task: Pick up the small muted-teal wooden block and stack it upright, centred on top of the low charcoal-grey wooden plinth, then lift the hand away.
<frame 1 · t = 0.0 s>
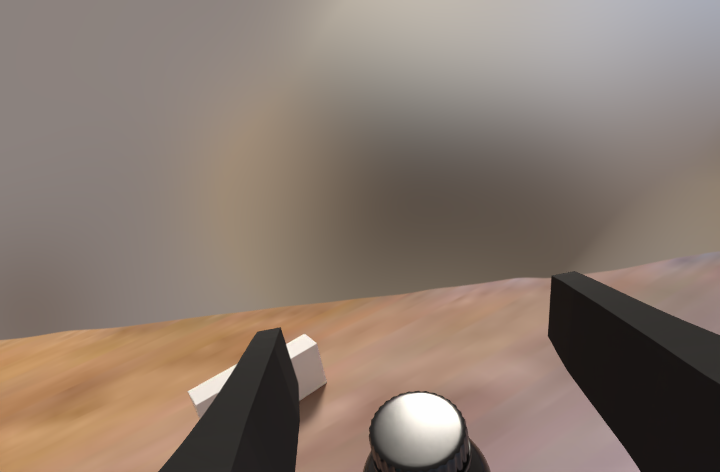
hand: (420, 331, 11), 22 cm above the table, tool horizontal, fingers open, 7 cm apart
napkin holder: (276, 412, 40), on the table
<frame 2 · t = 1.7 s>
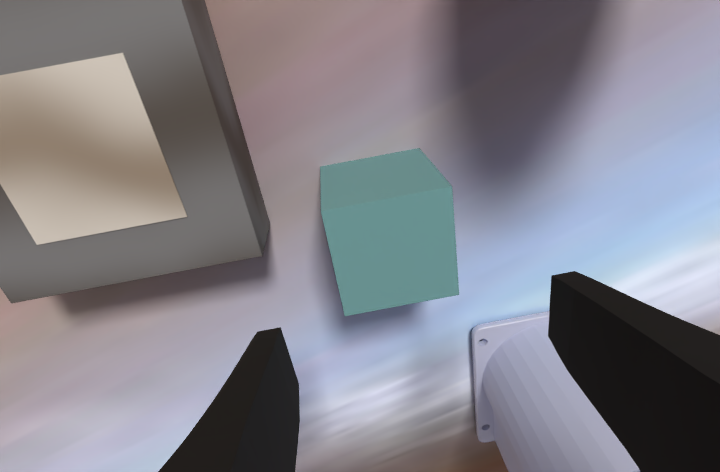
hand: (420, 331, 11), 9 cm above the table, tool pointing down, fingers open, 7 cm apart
teal block: (376, 202, 19), on the table
plinth: (115, 136, 17), on the table
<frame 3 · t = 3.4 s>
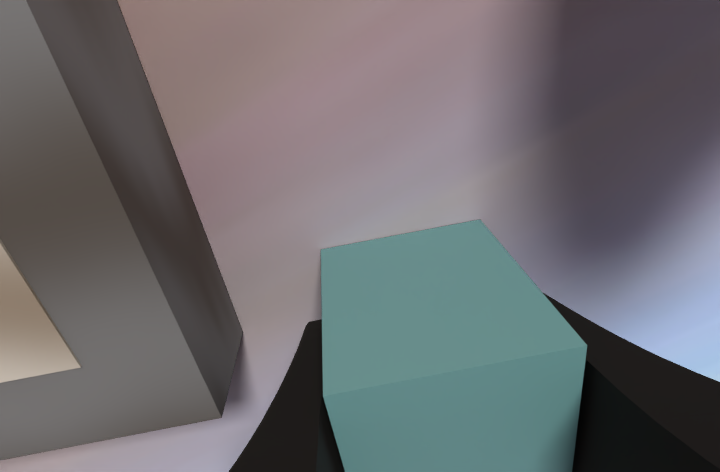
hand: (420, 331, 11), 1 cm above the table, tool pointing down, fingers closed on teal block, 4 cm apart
teal block: (409, 299, 12), on the table, touching gripper
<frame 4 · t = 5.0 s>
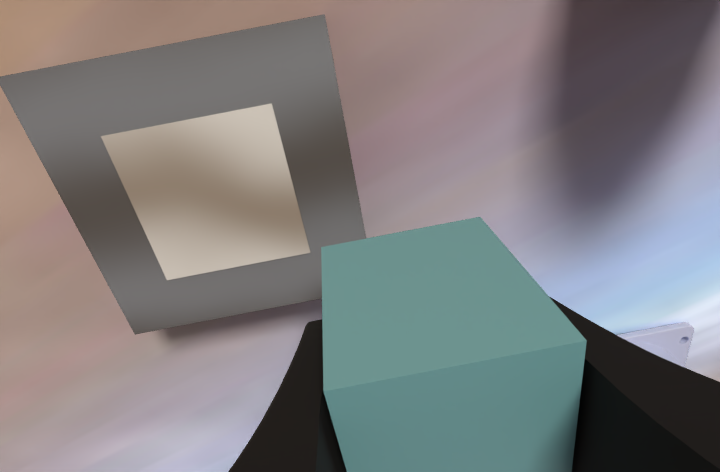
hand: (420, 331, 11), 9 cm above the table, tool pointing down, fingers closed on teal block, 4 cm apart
teal block: (409, 297, 12), point 7 cm above the table, touching gripper
plinth: (231, 173, 17), on the table
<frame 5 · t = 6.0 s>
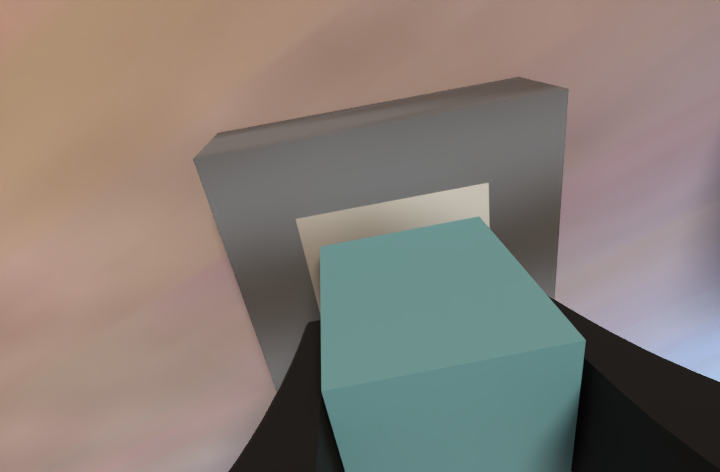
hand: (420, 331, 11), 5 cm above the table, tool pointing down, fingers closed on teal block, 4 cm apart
teal block: (408, 296, 12), point 4 cm above the table, touching gripper
plinth: (388, 238, 16), on the table
when the fingers open (5 cm above the table, at t = 6.8 s): teal block stays where it is, resting on plinth.
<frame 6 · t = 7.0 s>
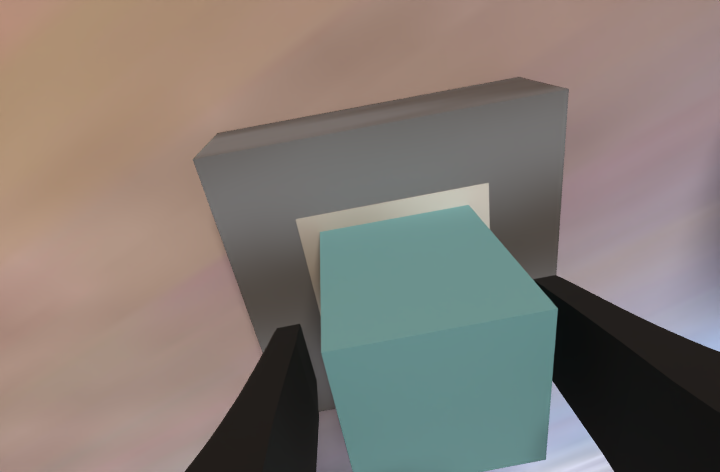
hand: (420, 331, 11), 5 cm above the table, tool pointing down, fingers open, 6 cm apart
teal block: (402, 280, 13), point 3 cm above the table, touching plinth
plinth: (388, 238, 16), on the table
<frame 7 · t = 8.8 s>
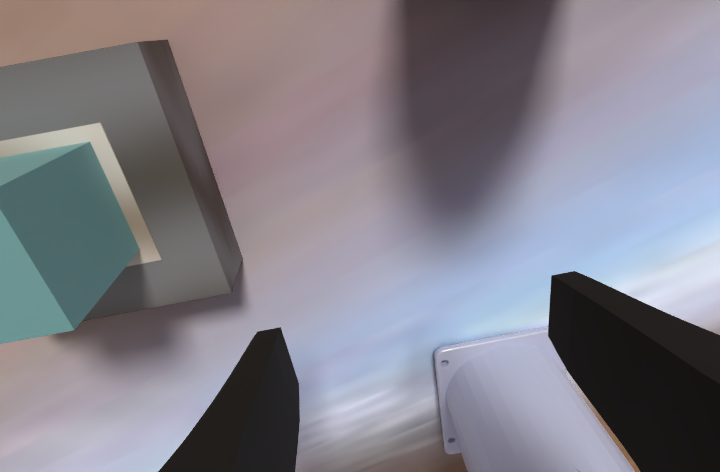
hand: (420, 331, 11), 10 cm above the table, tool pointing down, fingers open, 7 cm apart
teal block: (58, 209, 15), point 3 cm above the table, touching plinth
plinth: (98, 183, 18), on the table
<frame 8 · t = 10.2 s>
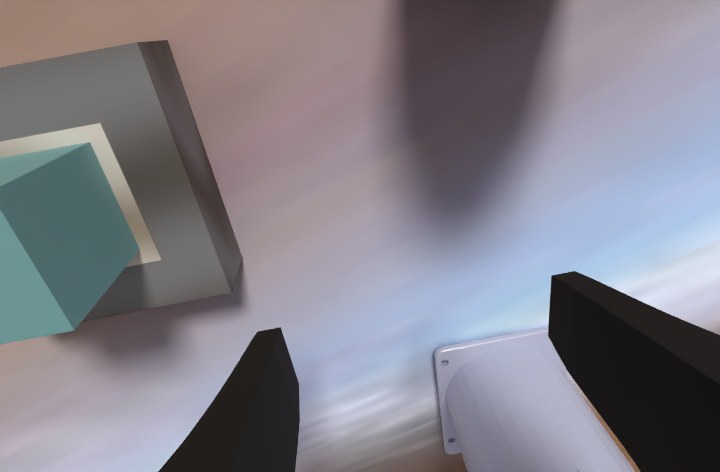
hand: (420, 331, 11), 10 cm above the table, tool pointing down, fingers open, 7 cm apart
teal block: (58, 209, 15), point 3 cm above the table, touching plinth
plinth: (98, 183, 18), on the table
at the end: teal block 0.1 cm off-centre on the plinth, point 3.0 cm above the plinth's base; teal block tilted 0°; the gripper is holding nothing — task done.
